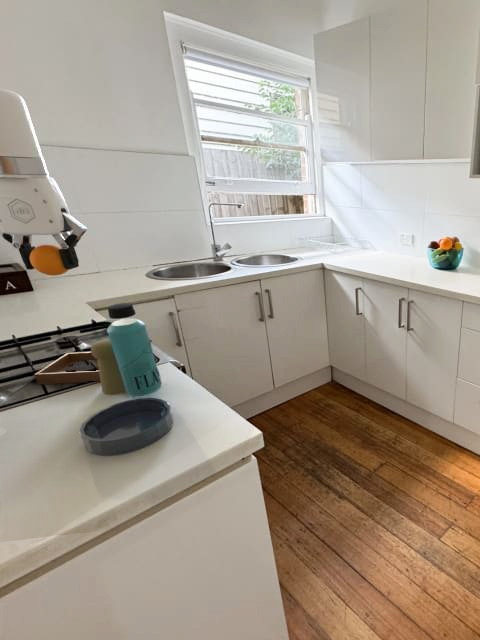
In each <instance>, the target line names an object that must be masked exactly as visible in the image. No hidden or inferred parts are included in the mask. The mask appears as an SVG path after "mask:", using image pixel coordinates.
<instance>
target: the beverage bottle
mask: <svg viewBox="0 0 480 640" xmlns="http://www.w3.org/2000/svg"><path fill="white" fill-rule="evenodd" d="M107 312H108V317H109V319H113V320H114V319H115V321H113V322H111V324H109V326H107V328H106V333H107V335H108V339H110V341H111V344H112V347H113V350H114V353H115V357H116V360H117V363H118V366H119V370H120V373H121V376H122V377H121V378H122V381H123V383H124V386H125V389H126V392H125V393H127V395H128V396H130V397H144V396H148V395H151V394H153V393H156V392H157V391H159V390H160V389H161V387H162V379H161V377H162V376H161V374H160V370H159V368H158V365H157V361H156V357H155V356H154V355H155V354H154V350H153V346H152V341H151V338H150V336H149V333H148V330H147V326H146V323H145V322H144V321H142V320H140V319H137V318H135V317H134V318H133V316H135V315H136V314H137V313H136V310H135V308H134V306H133V304H132V303H130V302H120V303H115V304H111V305H109V306H107Z"/></svg>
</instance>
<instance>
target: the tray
mask: <svg viewBox="0 0 480 640" xmlns="http://www.w3.org/2000/svg"><path fill="white" fill-rule="evenodd" d="M82 360H94V361H95V363H96V364H97V366H98V360H97V358H95V357H94V356H93V355H92V353H91V351H77V352H76V351H75V352H67V353H65V354H64V355H62V356H60V357H59V358H57V359H56V360H54V361H53V362H51V363H50V364H48V365H46V366H45V367H44V368H42V369H40V370H39V371H37V372H35V373H34V374H33V377H34V378H35V381H36V383H37V385H58V384H76V383H89V382H88V381H96V382H101V380H100V373H99V370H96V371H76V372H66V371H65V368H66V367H68V366H69V365H72V364H74V363H76V362H79V361H82ZM41 382H42V383H43V384H41Z"/></svg>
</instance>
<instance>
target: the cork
mask: <svg viewBox="0 0 480 640" xmlns="http://www.w3.org/2000/svg"><path fill="white" fill-rule="evenodd" d="M90 352H91V353H92V355H93V356H94V357H95V358H97V360H98V367H99V373H100V380H101V381H100V385H101V393H102V392H103V393H102V394H104V395H107V396H113V395H119V394H124V393H127V392H126V389H125V386H124V383H123V381H122V378H121V377H122V376H121V373H120V370H119V366H118V363H117V360H116V357H115V353H114V350H113V347H112V344H111V341H110V338H107V339H105V338H104V339H101V340H98V341H95V342H94V343H93V344H92V345H91V346H90Z"/></svg>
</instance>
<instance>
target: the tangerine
mask: <svg viewBox="0 0 480 640" xmlns="http://www.w3.org/2000/svg"><path fill="white" fill-rule="evenodd" d="M59 249H62V248H61V246H57V245H56V244H55V245H54V244H41V245H38V246H35V248H34V249H33V250H32V252H31V253H30V262H31V264H32V266H33V267H34V268H35V269H34V270H36V271H37V272H39V273H41V274H44V275H46V276H60V275H63V274H65V273H67V272H69V270H67V269H65V268H64V265H63V262H62V259H61V256H60V253H59Z"/></svg>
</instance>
